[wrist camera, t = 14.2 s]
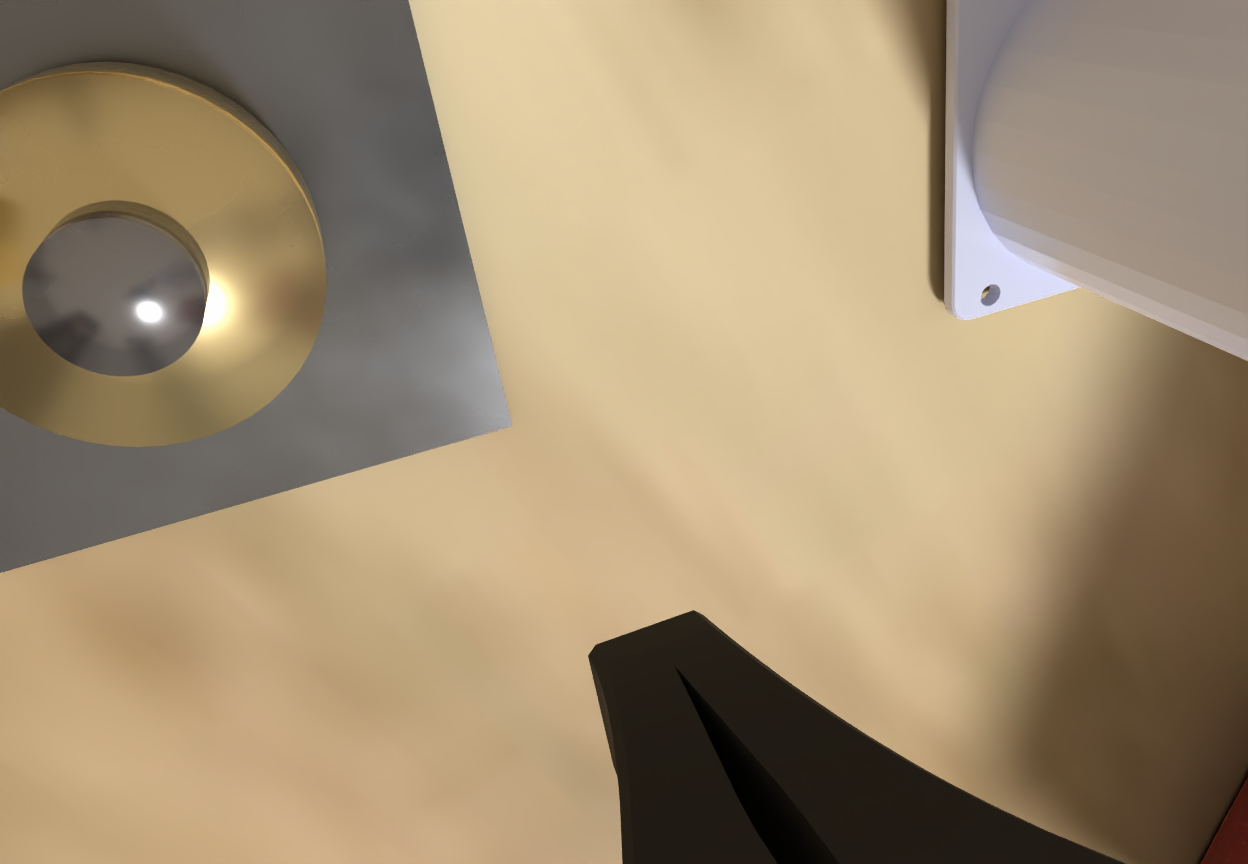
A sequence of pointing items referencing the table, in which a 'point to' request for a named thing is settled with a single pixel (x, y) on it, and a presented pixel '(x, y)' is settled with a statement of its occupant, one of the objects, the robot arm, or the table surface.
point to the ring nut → (148, 257)
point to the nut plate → (354, 256)
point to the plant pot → (1232, 834)
